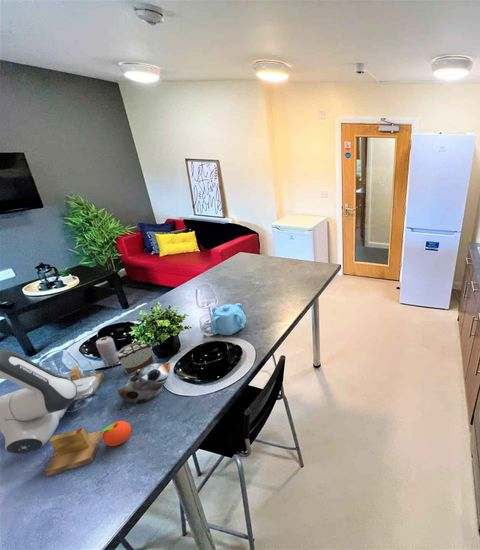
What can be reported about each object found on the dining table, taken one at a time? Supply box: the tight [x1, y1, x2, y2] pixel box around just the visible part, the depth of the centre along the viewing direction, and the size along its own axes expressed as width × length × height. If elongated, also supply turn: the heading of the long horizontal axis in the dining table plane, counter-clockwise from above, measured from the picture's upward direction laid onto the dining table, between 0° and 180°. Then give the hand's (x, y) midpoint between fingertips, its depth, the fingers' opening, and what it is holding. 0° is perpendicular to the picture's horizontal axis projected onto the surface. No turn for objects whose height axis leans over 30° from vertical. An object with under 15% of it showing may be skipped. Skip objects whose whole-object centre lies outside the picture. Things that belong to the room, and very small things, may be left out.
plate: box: [83, 372, 105, 396], centre depth 110 cm, size 11×10×2 cm
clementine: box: [97, 420, 132, 447], centre depth 90 cm, size 8×7×7 cm
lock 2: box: [71, 365, 84, 380], centre depth 108 cm, size 7×2×7 cm, turn 43°
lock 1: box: [49, 428, 91, 456], centre depth 85 cm, size 7×2×7 cm, turn 115°
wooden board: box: [44, 429, 104, 477], centre depth 87 cm, size 11×10×2 cm
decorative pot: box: [210, 302, 247, 336], centre depth 146 cm, size 16×16×14 cm
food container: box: [116, 341, 155, 376], centre depth 120 cm, size 12×6×10 cm, turn 144°
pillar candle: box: [95, 336, 120, 367], centre depth 121 cm, size 5×5×12 cm
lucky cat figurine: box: [117, 361, 171, 404], centre depth 108 cm, size 15×12×14 cm
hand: (68, 377), depth 107 cm, fingers closed
